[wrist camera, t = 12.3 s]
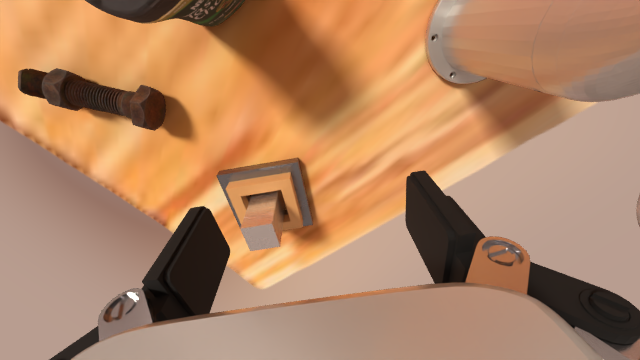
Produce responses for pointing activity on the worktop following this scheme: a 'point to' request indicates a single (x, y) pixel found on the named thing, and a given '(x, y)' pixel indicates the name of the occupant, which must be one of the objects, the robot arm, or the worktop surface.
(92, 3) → the coffee jar
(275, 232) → the block
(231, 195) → the square socket base
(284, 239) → the worktop surface
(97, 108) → the bolt
